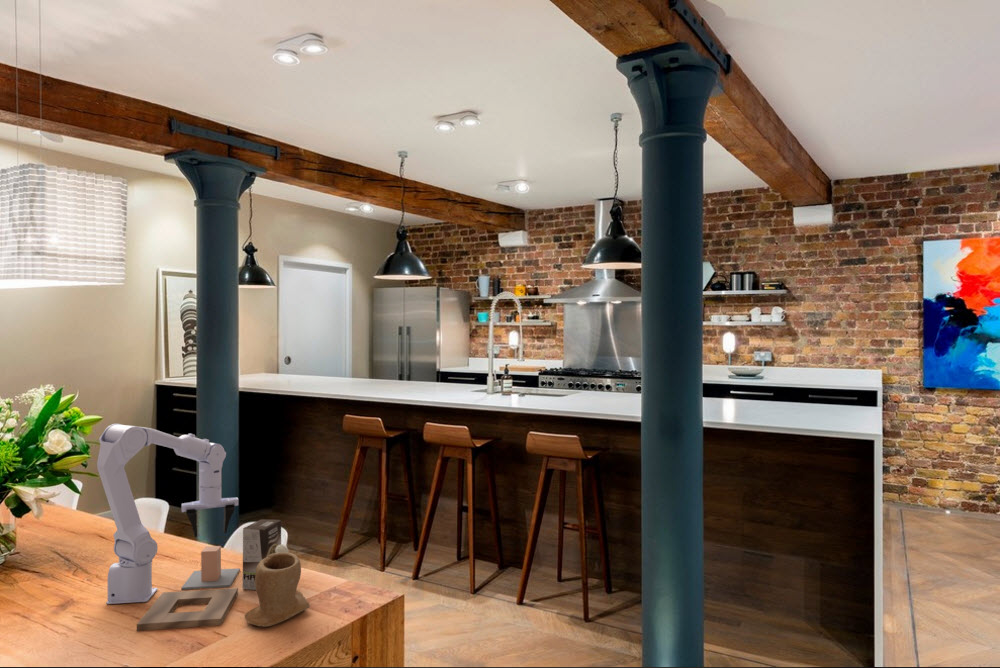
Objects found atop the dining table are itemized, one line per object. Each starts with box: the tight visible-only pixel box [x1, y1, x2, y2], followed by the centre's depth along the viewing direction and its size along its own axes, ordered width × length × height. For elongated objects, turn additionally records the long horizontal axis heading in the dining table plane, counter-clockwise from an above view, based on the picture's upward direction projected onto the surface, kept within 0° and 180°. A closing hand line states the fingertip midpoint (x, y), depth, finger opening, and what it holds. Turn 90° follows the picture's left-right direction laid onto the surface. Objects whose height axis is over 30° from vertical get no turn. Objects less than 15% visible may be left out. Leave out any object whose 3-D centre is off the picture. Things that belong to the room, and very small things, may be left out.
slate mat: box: [181, 567, 241, 591], centre depth 181 cm, size 12×12×1 cm
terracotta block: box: [200, 545, 222, 582], centre depth 180 cm, size 4×4×8 cm
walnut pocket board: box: [136, 587, 239, 632], centre depth 161 cm, size 18×18×2 cm
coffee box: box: [242, 518, 282, 591], centre depth 178 cm, size 9×6×16 cm
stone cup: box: [244, 552, 310, 628], centre depth 158 cm, size 15×12×15 cm
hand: (210, 533), depth 187 cm, fingers open, 7 cm apart
